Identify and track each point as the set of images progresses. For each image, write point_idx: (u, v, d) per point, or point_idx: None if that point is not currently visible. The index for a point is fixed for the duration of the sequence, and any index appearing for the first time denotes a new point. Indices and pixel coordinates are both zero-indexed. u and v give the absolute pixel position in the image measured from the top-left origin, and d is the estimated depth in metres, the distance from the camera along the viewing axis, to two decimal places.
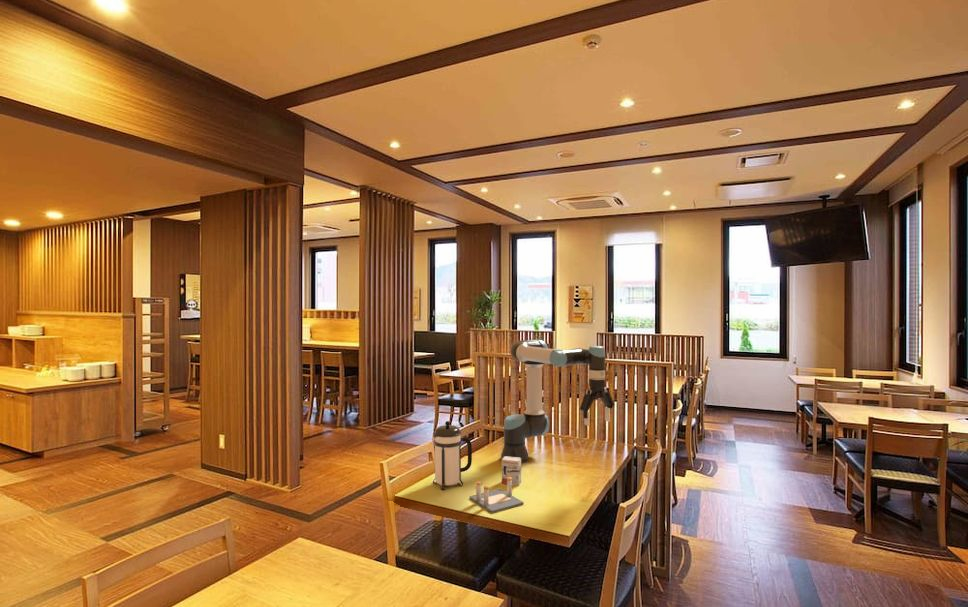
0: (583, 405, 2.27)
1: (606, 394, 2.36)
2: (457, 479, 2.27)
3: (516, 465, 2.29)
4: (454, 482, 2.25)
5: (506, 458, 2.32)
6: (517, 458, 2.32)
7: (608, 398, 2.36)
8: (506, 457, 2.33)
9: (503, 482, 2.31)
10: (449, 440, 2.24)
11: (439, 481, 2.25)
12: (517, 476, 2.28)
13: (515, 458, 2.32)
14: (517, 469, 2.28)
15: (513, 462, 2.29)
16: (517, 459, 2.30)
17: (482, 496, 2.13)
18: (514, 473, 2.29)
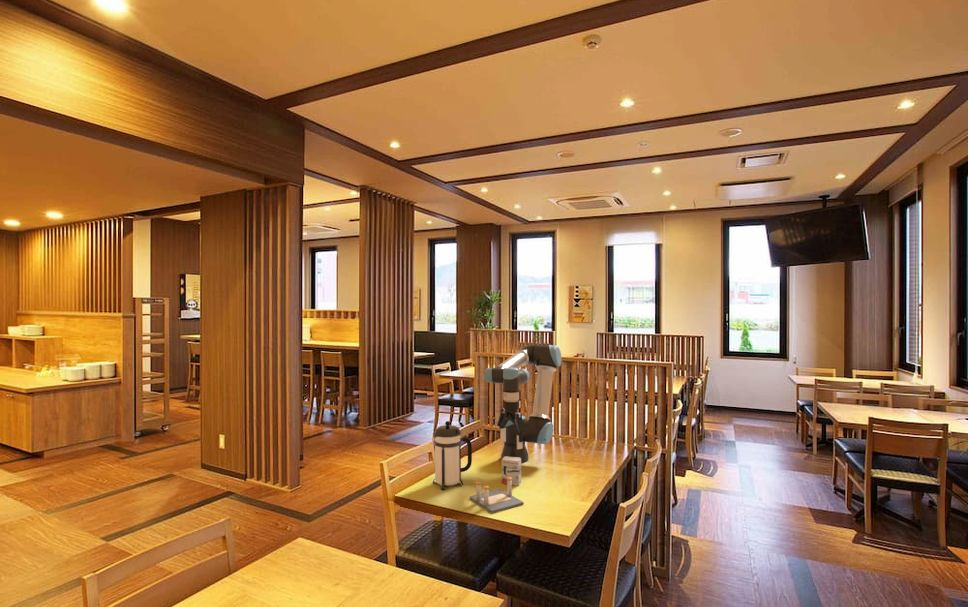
0: None
1: None
2: (457, 479, 2.27)
3: (516, 465, 2.29)
4: (454, 482, 2.25)
5: (506, 458, 2.32)
6: (517, 458, 2.32)
7: None
8: (506, 457, 2.33)
9: (503, 482, 2.31)
10: (449, 440, 2.24)
11: (439, 481, 2.25)
12: (517, 476, 2.28)
13: (515, 458, 2.32)
14: (517, 469, 2.28)
15: (513, 462, 2.29)
16: (517, 459, 2.30)
17: (482, 496, 2.13)
18: (514, 473, 2.29)
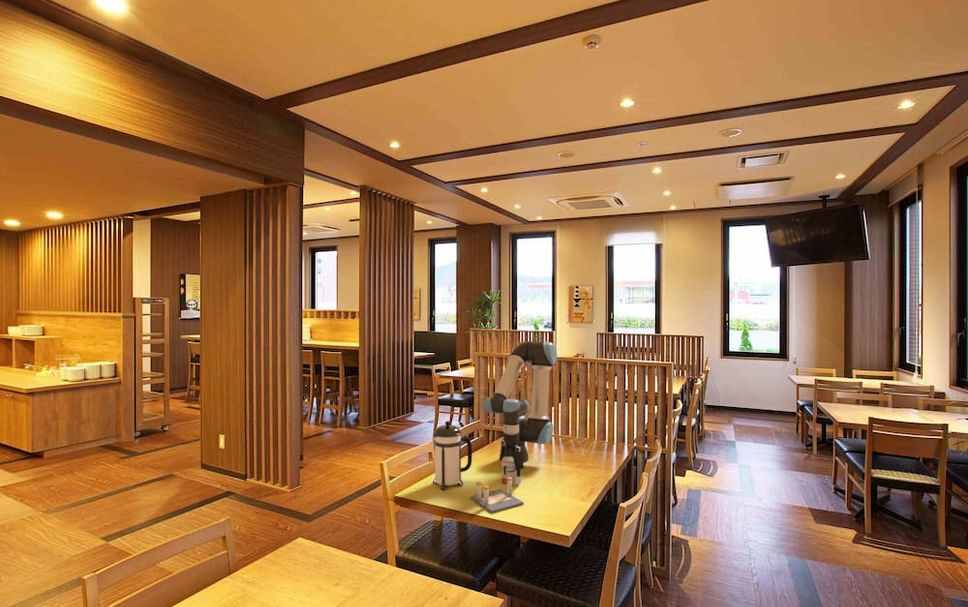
0: None
1: None
2: (457, 479, 2.27)
3: None
4: (454, 482, 2.25)
5: (506, 458, 2.32)
6: None
7: None
8: (506, 457, 2.33)
9: (503, 482, 2.31)
10: (449, 440, 2.24)
11: (439, 481, 2.25)
12: None
13: None
14: None
15: (513, 462, 2.29)
16: None
17: (482, 496, 2.13)
18: (514, 473, 2.29)
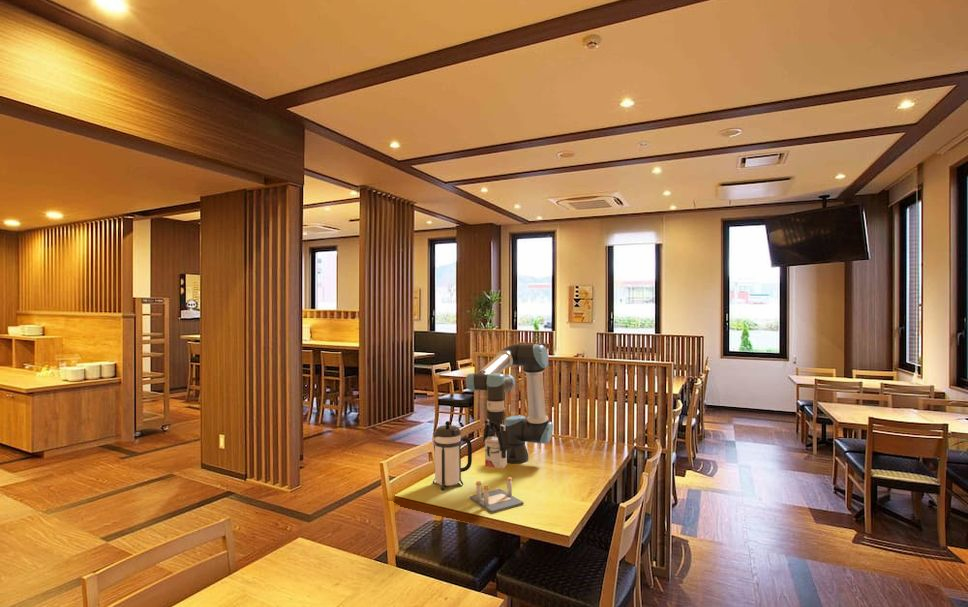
0: None
1: None
2: (457, 479, 2.27)
3: None
4: (454, 482, 2.25)
5: (490, 438, 2.11)
6: None
7: None
8: (490, 437, 2.12)
9: (487, 464, 2.09)
10: (449, 440, 2.24)
11: (439, 481, 2.25)
12: None
13: None
14: None
15: (497, 442, 2.07)
16: None
17: (482, 496, 2.13)
18: None
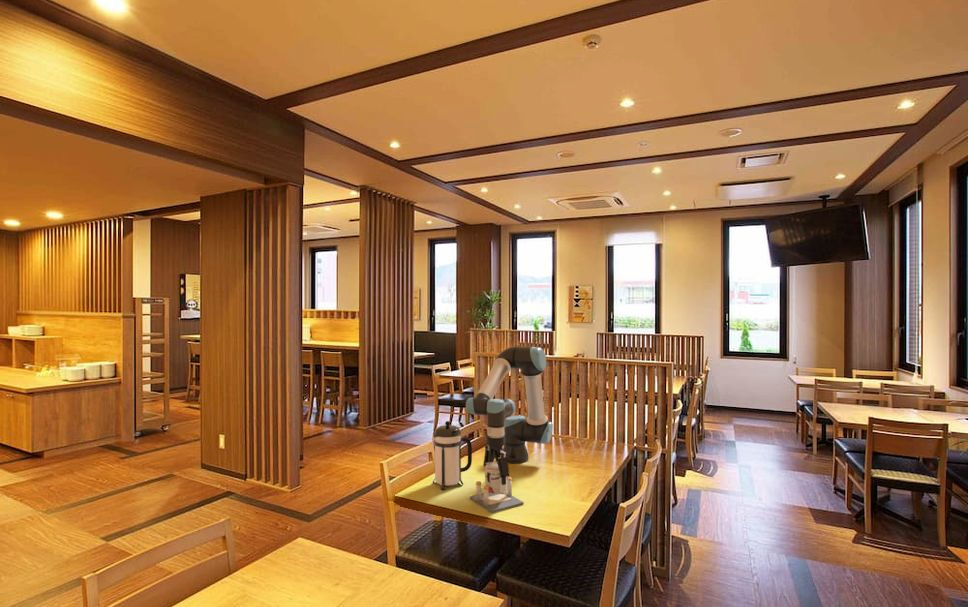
0: None
1: None
2: (457, 479, 2.27)
3: None
4: (454, 482, 2.25)
5: (490, 464, 2.10)
6: None
7: None
8: (490, 463, 2.12)
9: None
10: (449, 440, 2.24)
11: (439, 481, 2.25)
12: None
13: None
14: None
15: (498, 468, 2.07)
16: None
17: (482, 496, 2.13)
18: None
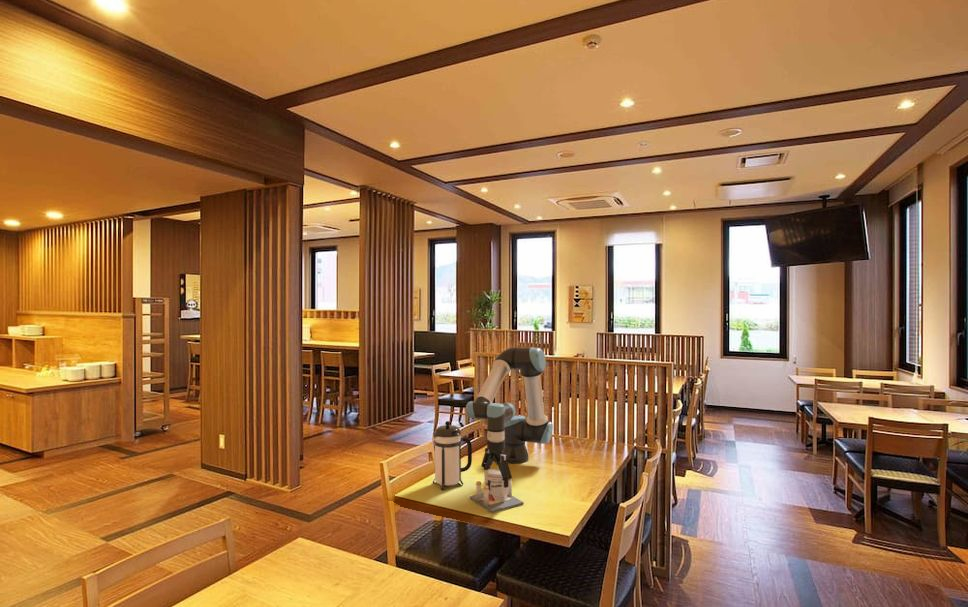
0: None
1: None
2: (457, 479, 2.27)
3: (501, 479, 2.07)
4: (454, 482, 2.25)
5: (490, 471, 2.10)
6: None
7: None
8: (490, 470, 2.12)
9: None
10: (449, 440, 2.24)
11: (439, 481, 2.25)
12: None
13: None
14: None
15: (498, 476, 2.07)
16: None
17: (482, 496, 2.13)
18: (499, 488, 2.07)
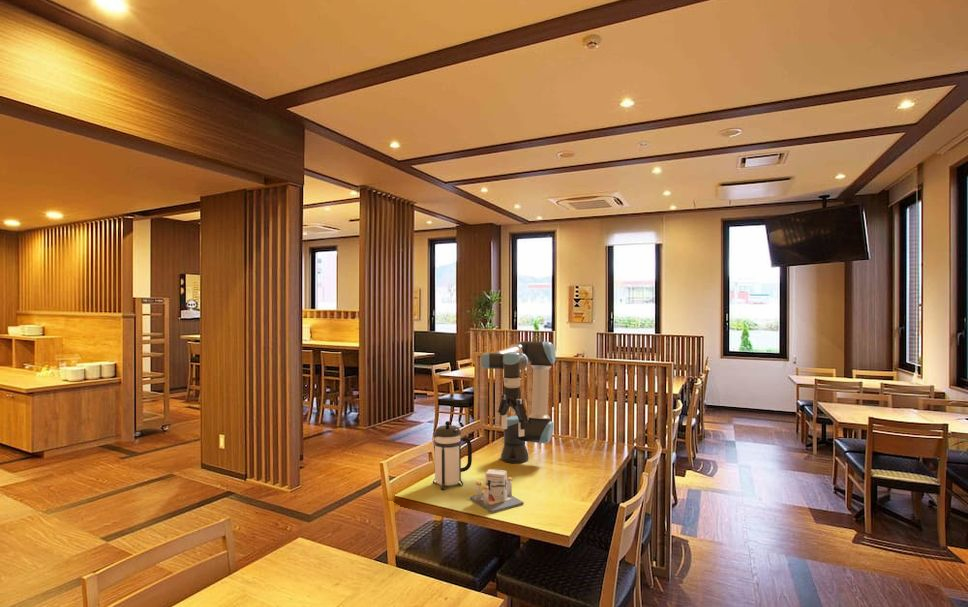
0: None
1: None
2: (457, 479, 2.27)
3: (501, 479, 2.07)
4: (454, 482, 2.25)
5: (490, 471, 2.10)
6: (503, 471, 2.10)
7: None
8: (490, 470, 2.12)
9: None
10: (449, 440, 2.24)
11: (439, 481, 2.25)
12: (502, 491, 2.07)
13: (500, 471, 2.10)
14: (502, 484, 2.07)
15: (498, 476, 2.07)
16: (503, 472, 2.09)
17: (482, 496, 2.13)
18: (499, 488, 2.07)
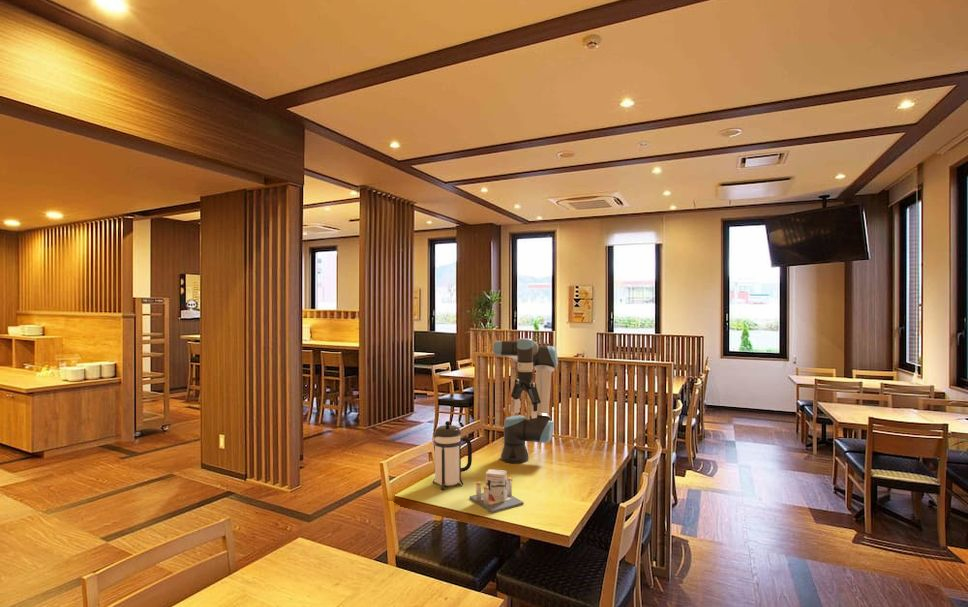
0: None
1: None
2: (457, 479, 2.27)
3: (501, 479, 2.07)
4: (454, 482, 2.25)
5: (490, 471, 2.10)
6: (503, 471, 2.10)
7: None
8: (490, 470, 2.12)
9: None
10: (449, 440, 2.24)
11: (439, 481, 2.25)
12: (502, 491, 2.07)
13: (500, 471, 2.10)
14: (502, 484, 2.07)
15: (498, 476, 2.07)
16: (503, 472, 2.09)
17: (482, 496, 2.13)
18: (499, 488, 2.07)
